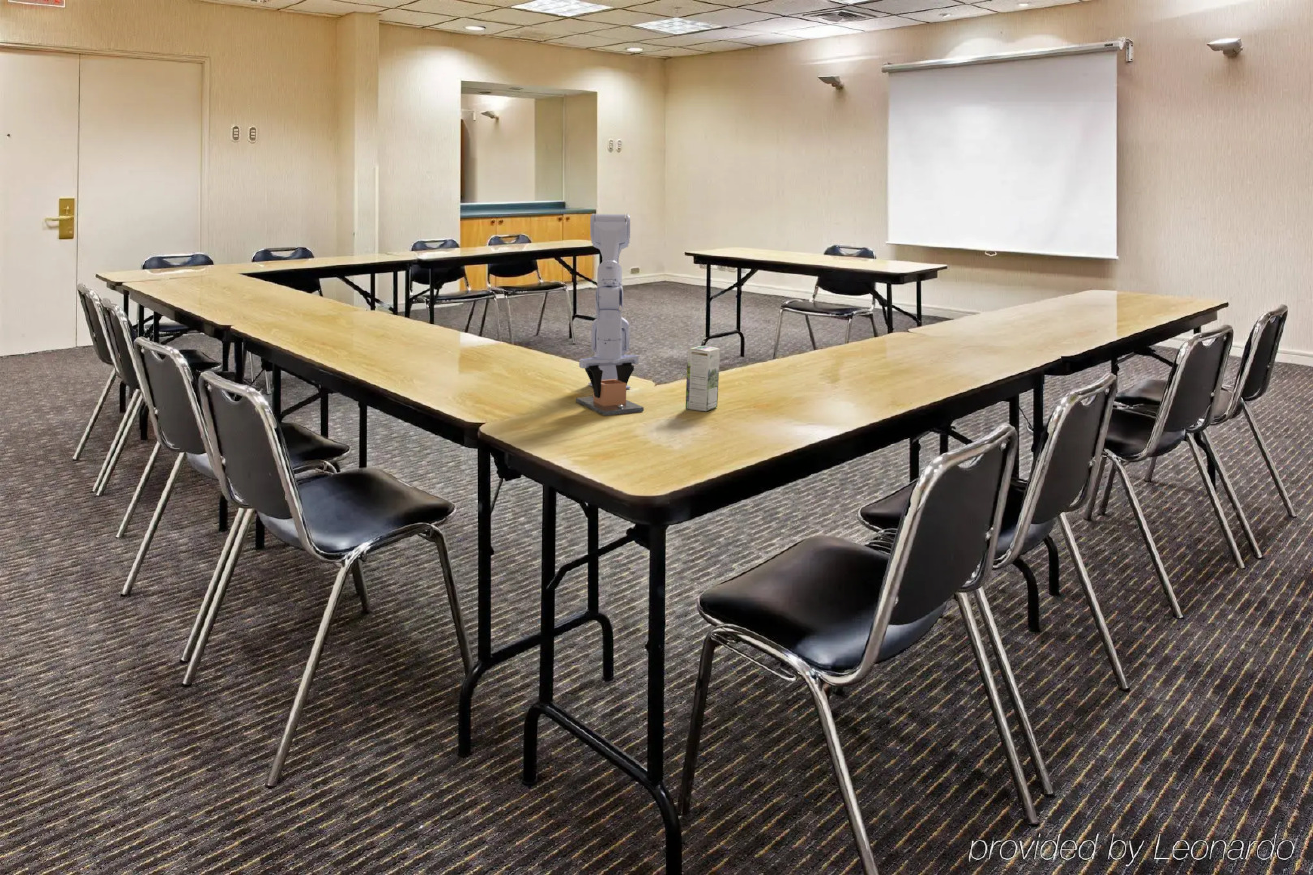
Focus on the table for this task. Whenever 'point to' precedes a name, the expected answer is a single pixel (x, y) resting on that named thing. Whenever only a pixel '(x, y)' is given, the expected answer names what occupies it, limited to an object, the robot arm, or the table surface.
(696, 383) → the syrup box
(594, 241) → the robot arm
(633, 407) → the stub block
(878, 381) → the table surface
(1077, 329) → the table surface
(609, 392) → the collar
